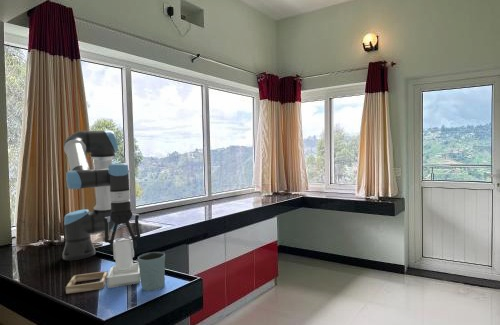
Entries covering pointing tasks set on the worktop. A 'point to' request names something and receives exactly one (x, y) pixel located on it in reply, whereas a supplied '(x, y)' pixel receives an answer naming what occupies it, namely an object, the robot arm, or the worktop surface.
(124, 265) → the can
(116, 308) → the worktop surface
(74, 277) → the holder ring
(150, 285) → the grey-green cup
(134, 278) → the tray
